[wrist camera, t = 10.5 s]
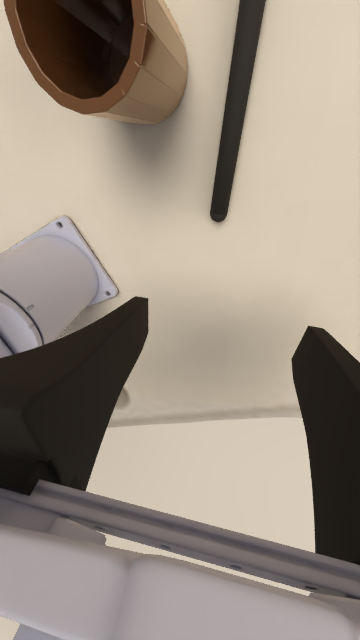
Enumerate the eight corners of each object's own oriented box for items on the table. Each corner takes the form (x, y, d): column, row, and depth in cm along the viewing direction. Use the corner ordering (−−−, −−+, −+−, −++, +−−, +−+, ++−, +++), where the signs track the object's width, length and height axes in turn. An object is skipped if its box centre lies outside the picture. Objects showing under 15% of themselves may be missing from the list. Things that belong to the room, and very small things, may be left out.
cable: (227, 220, 18) (227, 225, 17) (207, 218, 18) (206, 222, 17) (352, -452, 7) (370, -544, 6) (298, -442, 7) (307, -531, 6)
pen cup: (135, 140, 16) (70, 140, 10) (90, 46, 14) (-29, -29, 8) (201, 94, 14) (172, 58, 8) (162, -23, 12) (79, -200, 6)
